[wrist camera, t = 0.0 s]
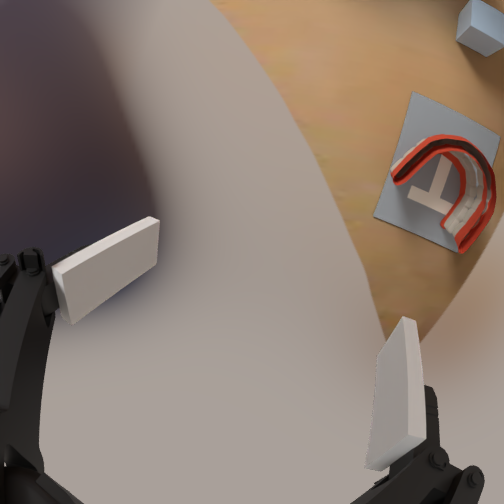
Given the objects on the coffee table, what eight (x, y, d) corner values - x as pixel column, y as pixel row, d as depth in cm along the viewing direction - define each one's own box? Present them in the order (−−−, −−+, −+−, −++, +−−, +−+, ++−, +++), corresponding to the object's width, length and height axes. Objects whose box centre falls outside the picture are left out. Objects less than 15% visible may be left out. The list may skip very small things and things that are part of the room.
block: (458, 13, 21) (472, -4, 15) (489, 30, 20) (507, 16, 14) (455, 40, 23) (470, 25, 17) (486, 57, 22) (506, 46, 16)
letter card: (412, 91, 29) (412, 91, 29) (499, 136, 26) (500, 136, 26) (373, 215, 37) (373, 216, 37) (456, 252, 34) (457, 253, 34)
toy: (491, 181, 28) (517, 193, 22) (446, 233, 34) (462, 256, 27) (430, 113, 29) (446, 108, 22) (384, 170, 34) (389, 179, 27)
